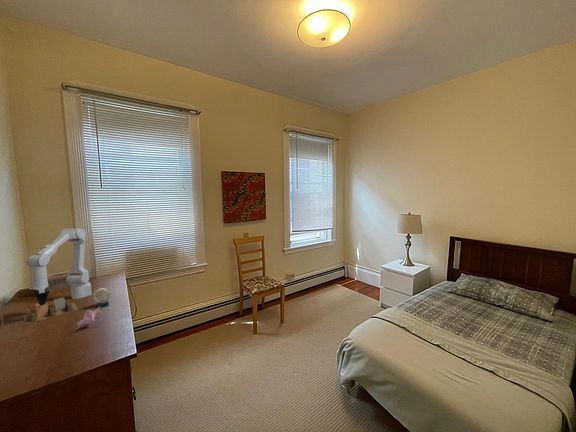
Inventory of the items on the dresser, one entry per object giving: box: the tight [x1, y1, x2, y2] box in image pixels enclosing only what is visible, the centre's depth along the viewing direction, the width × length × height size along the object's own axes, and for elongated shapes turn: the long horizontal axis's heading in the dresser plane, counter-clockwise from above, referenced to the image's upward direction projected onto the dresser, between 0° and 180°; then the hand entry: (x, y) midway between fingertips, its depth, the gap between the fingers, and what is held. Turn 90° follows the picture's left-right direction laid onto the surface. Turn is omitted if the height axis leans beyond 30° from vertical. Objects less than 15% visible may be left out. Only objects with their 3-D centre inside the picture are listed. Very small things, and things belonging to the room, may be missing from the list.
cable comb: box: [22, 299, 79, 325], centre depth 128 cm, size 20×14×4 cm
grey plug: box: [53, 297, 66, 312], centre depth 131 cm, size 4×4×6 cm
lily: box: [75, 307, 102, 331], centre depth 115 cm, size 12×12×10 cm
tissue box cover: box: [32, 269, 80, 295], centre depth 165 cm, size 26×14×10 cm, turn 140°
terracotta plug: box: [35, 301, 48, 317], centre depth 125 cm, size 4×4×6 cm
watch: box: [93, 287, 112, 309], centre depth 136 cm, size 6×8×11 cm
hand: (41, 302), depth 125 cm, fingers open, 7 cm apart
